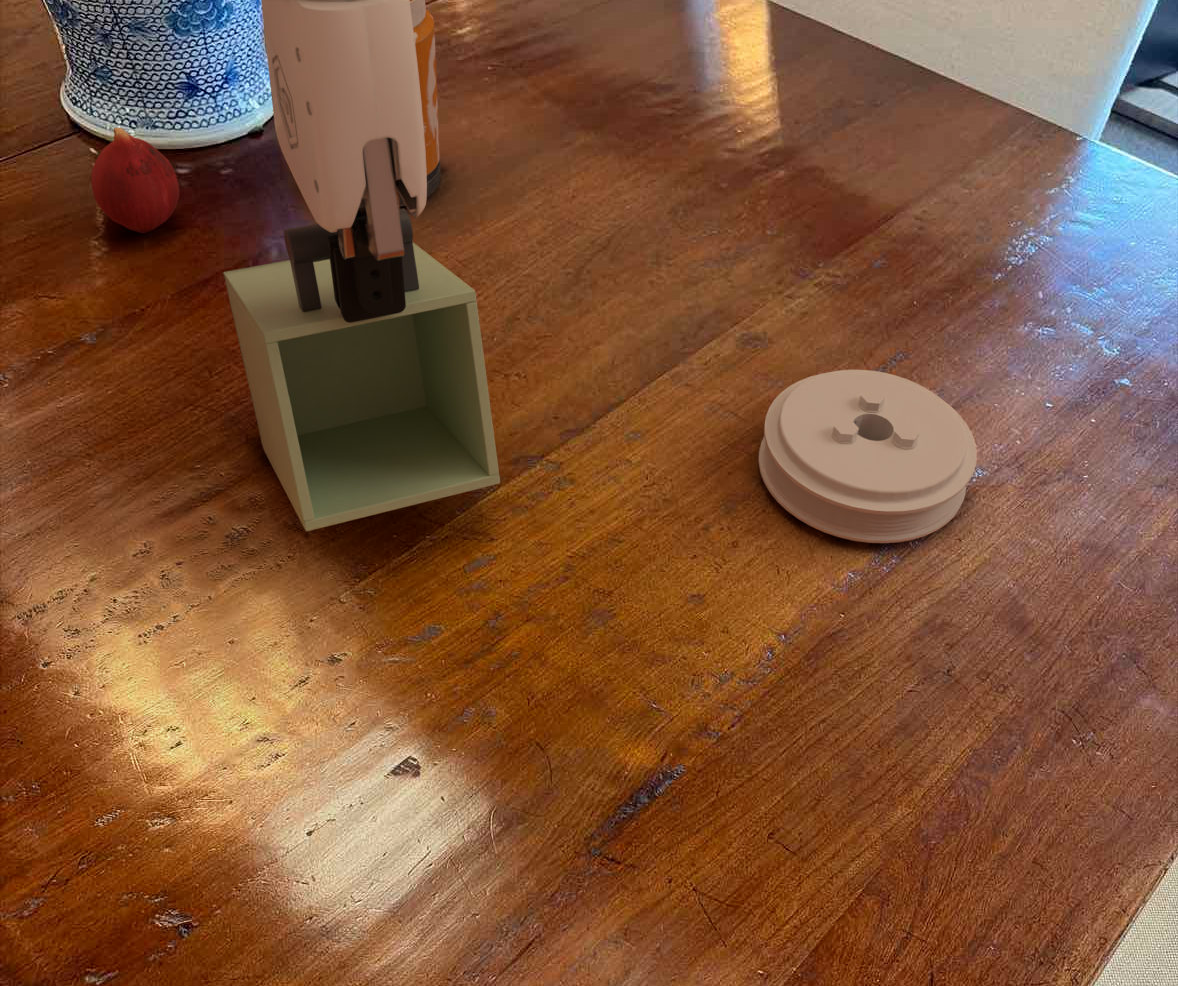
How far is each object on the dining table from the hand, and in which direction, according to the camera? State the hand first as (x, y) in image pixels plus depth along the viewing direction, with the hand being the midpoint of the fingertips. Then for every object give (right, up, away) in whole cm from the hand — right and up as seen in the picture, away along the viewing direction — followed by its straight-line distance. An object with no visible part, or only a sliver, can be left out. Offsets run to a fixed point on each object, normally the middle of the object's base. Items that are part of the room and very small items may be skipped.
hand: (370, 307), depth 66 cm
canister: (-6, +17, +35) cm, 39 cm away
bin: (-1, -7, +11) cm, 13 cm away
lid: (+28, -8, +15) cm, 32 cm away
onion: (-21, +12, +29) cm, 38 cm away
